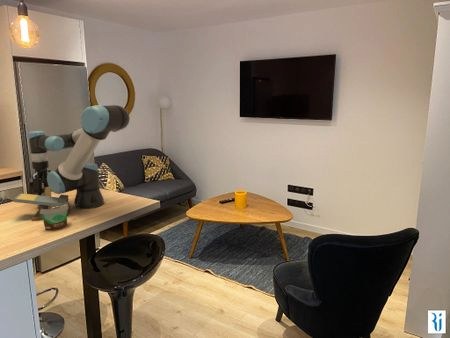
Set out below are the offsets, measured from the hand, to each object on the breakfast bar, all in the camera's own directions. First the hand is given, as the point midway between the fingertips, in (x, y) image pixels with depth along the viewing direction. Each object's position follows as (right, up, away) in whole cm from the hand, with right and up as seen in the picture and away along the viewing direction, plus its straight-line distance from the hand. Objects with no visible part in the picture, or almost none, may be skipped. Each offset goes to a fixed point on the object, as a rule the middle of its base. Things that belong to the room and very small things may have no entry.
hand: (44, 203), depth 179 cm
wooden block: (0, -2, 0) cm, 2 cm away
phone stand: (-10, 0, +10) cm, 14 cm away
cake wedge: (+22, -8, -29) cm, 38 cm away
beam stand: (+11, -4, -13) cm, 17 cm away
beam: (+7, +3, -15) cm, 17 cm away
